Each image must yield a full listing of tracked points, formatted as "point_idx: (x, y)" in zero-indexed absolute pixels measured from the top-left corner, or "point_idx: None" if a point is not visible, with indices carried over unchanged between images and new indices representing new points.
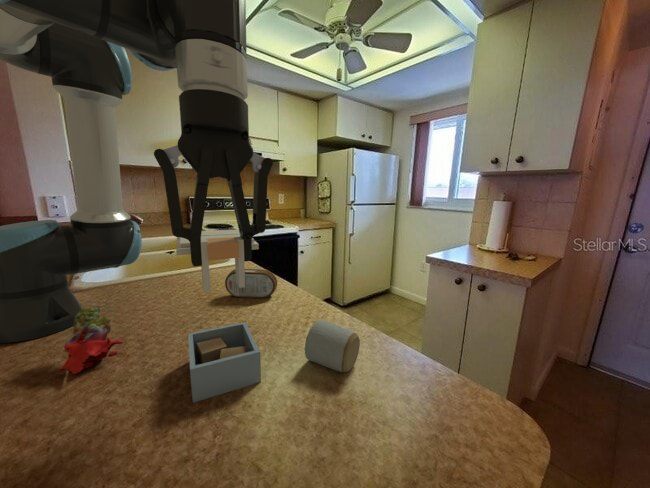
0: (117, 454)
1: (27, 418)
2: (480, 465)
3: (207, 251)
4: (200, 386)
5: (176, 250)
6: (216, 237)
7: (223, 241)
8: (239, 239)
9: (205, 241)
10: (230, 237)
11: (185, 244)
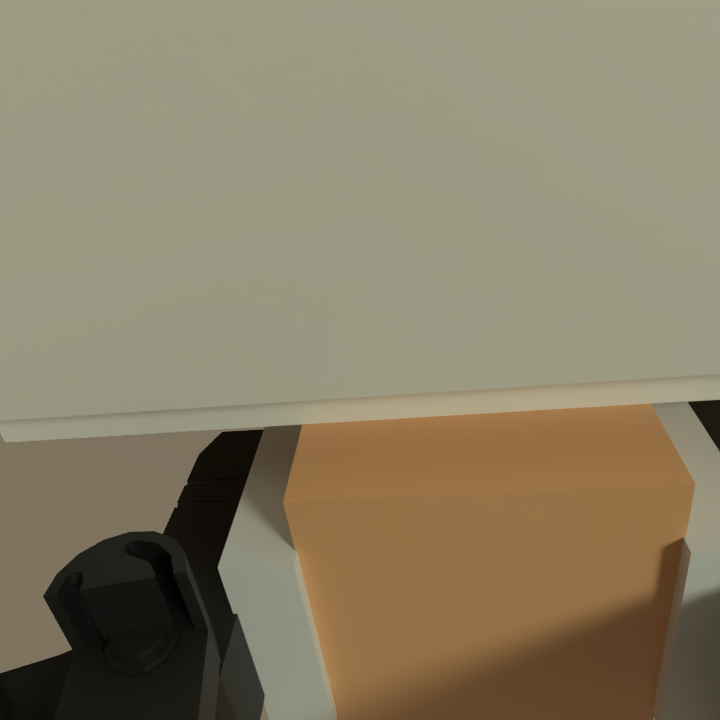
0: None
1: None
2: None
3: None
4: None
5: (15, 438)
6: (450, 4)
7: (500, 679)
8: (689, 712)
9: (312, 714)
10: (641, 499)
11: (54, 411)
